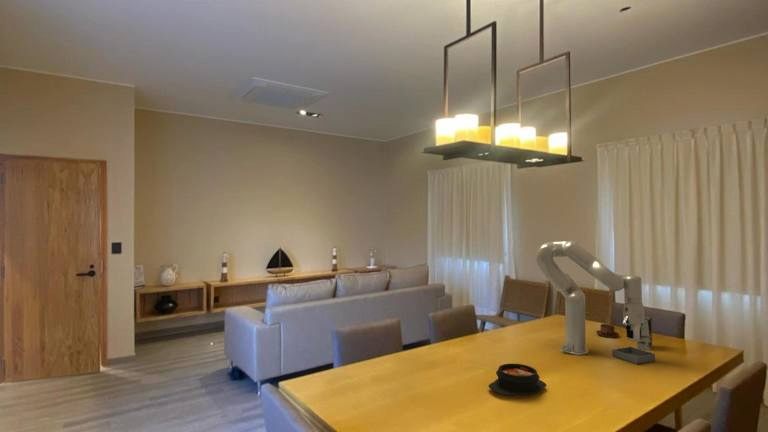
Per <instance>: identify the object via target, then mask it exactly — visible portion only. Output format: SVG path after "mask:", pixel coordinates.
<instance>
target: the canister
mask: <svg viewBox="0 0 768 432" xmlns="http://www.w3.org/2000/svg"><path fill="white" fill-rule="evenodd" d="M629 326H630V325H629ZM632 330H633V338H628V337H627V338H628V339H627V340H628V341H629V342H634V343H637V342H640V324H636V325H633V328H632Z"/></svg>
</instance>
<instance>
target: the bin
mask: <svg viewBox="0 0 768 432" xmlns="http://www.w3.org/2000/svg"><path fill="white" fill-rule="evenodd" d="M611 353H612V354H611V357H612V358H615V359H618V360H621V361H625V362H627V363H630V364H633V365H636V366H639V365H642V364H647V363H653V362H656V353H653V352H649V351H648V350H644V349H638V348H636V347H633V346H626V347H620V348H615V349H612V350H611Z"/></svg>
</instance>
